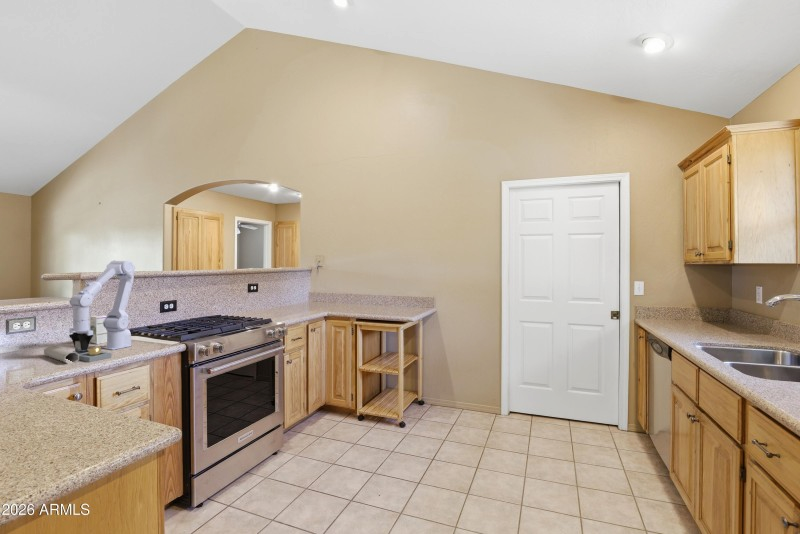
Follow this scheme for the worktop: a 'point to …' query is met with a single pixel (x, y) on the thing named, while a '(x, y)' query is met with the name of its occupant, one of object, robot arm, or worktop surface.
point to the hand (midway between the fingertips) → (81, 349)
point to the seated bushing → (94, 351)
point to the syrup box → (98, 329)
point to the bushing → (78, 347)
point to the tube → (61, 354)
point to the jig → (94, 358)
